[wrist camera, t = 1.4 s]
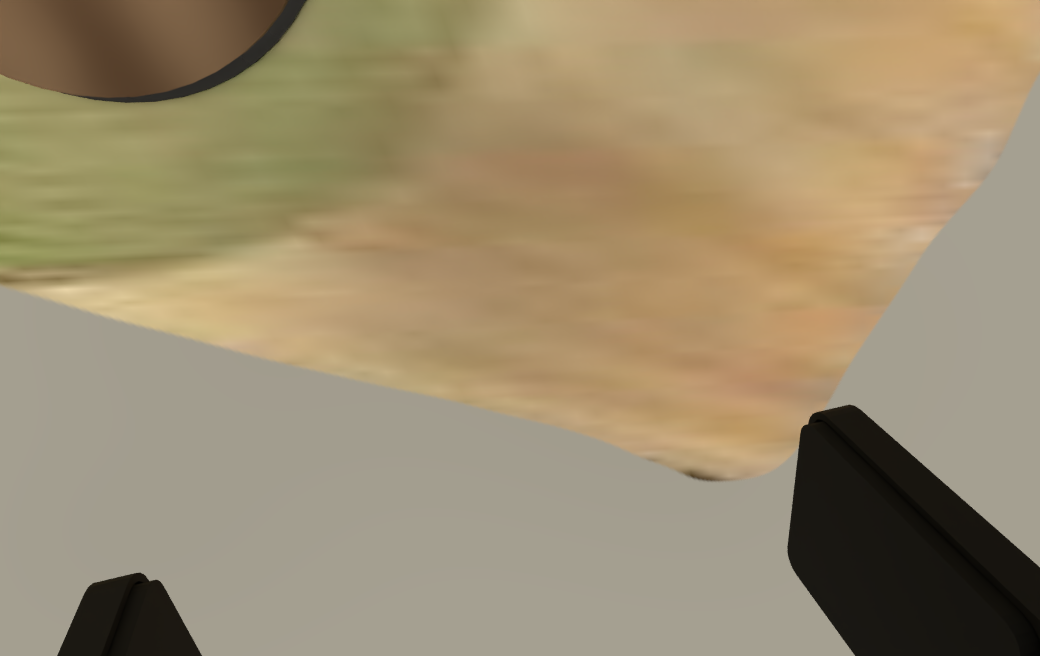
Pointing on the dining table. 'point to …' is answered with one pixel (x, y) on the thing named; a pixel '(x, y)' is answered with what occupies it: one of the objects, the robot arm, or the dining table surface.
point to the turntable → (126, 42)
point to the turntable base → (230, 69)
